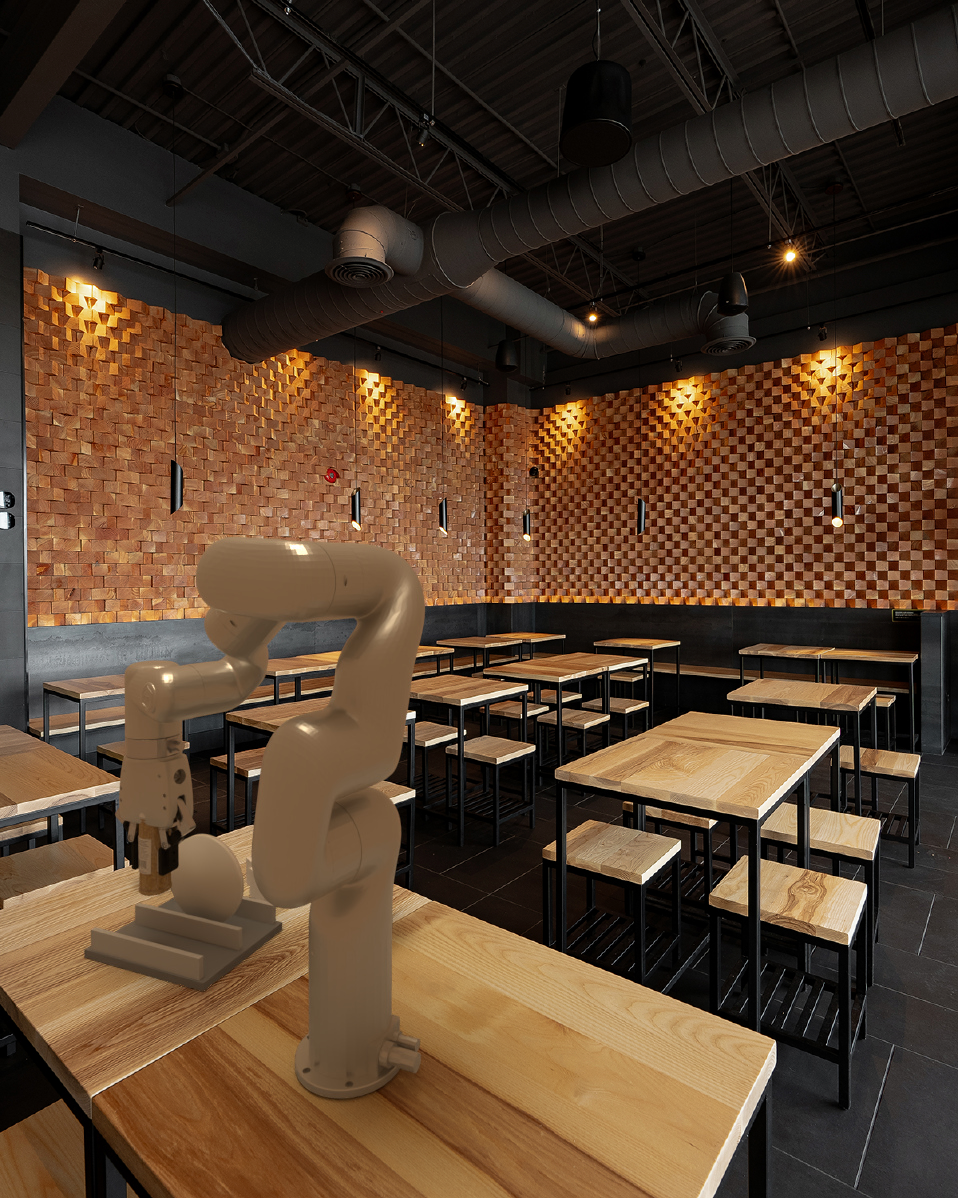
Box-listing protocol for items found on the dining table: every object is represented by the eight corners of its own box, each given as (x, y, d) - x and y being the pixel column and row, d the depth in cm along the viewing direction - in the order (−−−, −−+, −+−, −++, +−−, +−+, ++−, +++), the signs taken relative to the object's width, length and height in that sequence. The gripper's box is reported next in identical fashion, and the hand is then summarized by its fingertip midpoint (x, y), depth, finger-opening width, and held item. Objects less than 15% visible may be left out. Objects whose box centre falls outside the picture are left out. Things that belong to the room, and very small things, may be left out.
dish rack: (282, 929, 107) (281, 835, 107) (203, 992, 91) (202, 881, 91) (174, 904, 115) (173, 815, 114) (84, 957, 99) (82, 855, 98)
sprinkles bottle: (174, 892, 99) (174, 801, 99) (140, 900, 97) (139, 807, 96) (169, 879, 103) (168, 792, 102) (135, 887, 101) (135, 798, 100)
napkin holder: (285, 917, 112) (285, 883, 112) (215, 917, 112) (215, 883, 111) (306, 876, 127) (306, 846, 127) (245, 876, 127) (245, 846, 126)
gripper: (218, 746, 99) (219, 868, 100) (131, 734, 105) (133, 849, 106) (179, 759, 92) (180, 890, 93) (88, 746, 98) (90, 869, 99)
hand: (155, 867), depth 100 cm, fingers closed on sprinkles bottle, 4 cm apart
